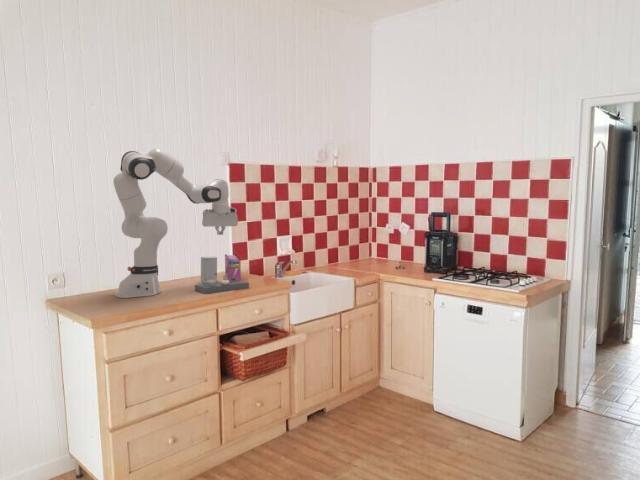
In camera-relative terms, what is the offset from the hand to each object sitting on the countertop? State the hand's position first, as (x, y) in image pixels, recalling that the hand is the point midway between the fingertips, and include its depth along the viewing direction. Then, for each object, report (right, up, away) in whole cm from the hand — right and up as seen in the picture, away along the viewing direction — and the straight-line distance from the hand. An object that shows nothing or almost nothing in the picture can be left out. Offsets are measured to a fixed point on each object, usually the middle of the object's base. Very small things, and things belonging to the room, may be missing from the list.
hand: (220, 234), depth 270 cm
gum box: (+2, -27, +28) cm, 39 cm away
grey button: (-2, -26, -14) cm, 29 cm away
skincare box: (-10, -28, +15) cm, 33 cm away
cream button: (+4, -26, -9) cm, 28 cm away
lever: (+7, -24, +3) cm, 25 cm away
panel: (+2, -29, -6) cm, 30 cm away
